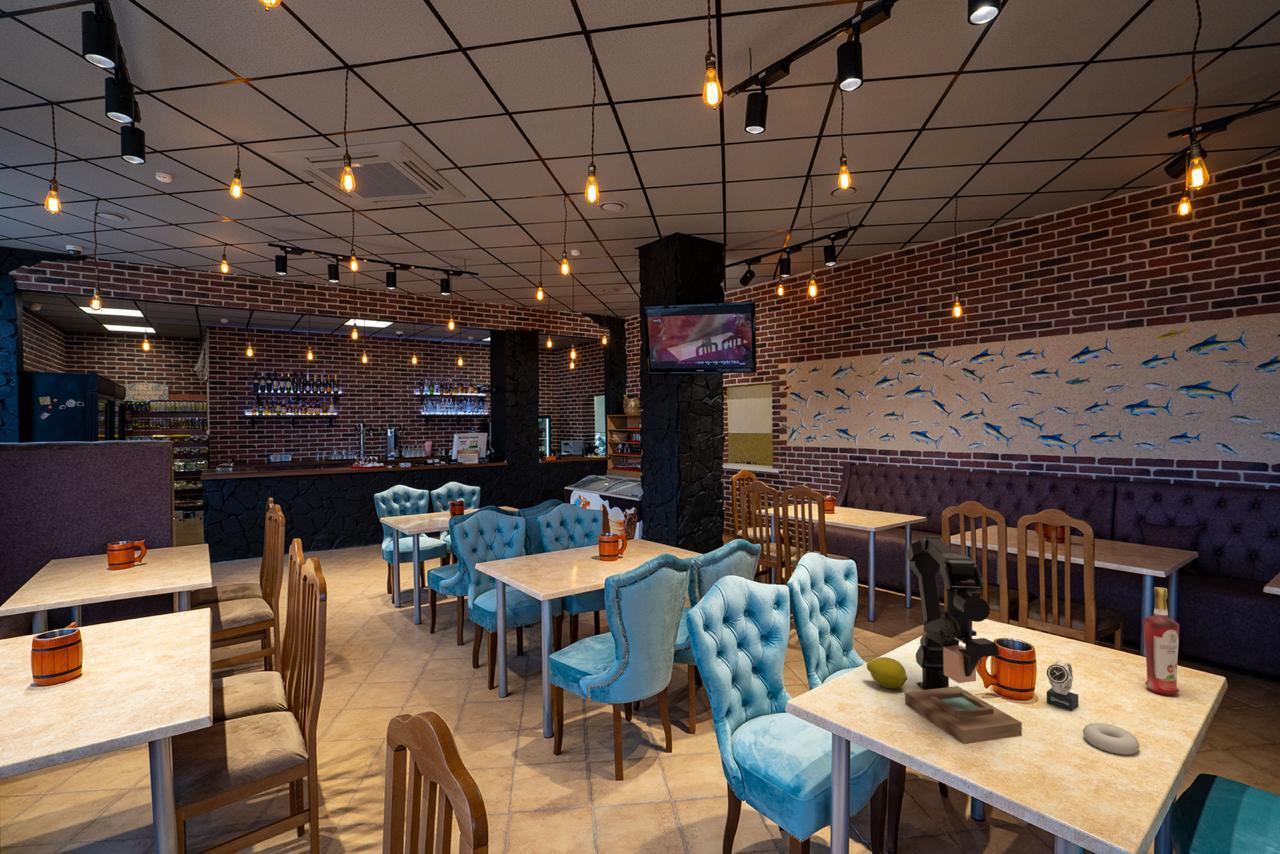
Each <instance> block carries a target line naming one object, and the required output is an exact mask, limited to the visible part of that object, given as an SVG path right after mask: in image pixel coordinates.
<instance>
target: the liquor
mask: <svg viewBox="0 0 1280 854" xmlns="http://www.w3.org/2000/svg"><path fill="white" fill-rule="evenodd" d="M1153 595H1154V607H1153V608H1154V609H1153V615H1150V616H1149V615H1148V616H1146V617H1145V618H1143V619H1142V621H1143V636H1144V647H1145V661H1146V662H1145V663H1146V681H1145V684H1144V685H1145V686H1147V687H1148V689H1149V690H1150V691H1152V692H1153V693H1155V694H1158V695H1162V696H1173V695H1175V694H1177V693H1178V692H1180V690H1179V688H1178V686H1177V684H1178V682H1177V681H1178V655H1179V646H1180V645H1179V641H1180V640H1179V639H1180V624H1179V623H1178V622H1177V621H1175V620H1174V619H1173V618H1170V617H1169V612H1168V605H1167V599H1168V589H1167V588H1165V587H1162V586H1161V587H1159V586H1158V587H1157V586H1155V587H1153Z"/></svg>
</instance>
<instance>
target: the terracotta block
mask: <svg viewBox="0 0 1280 854" xmlns="http://www.w3.org/2000/svg"><path fill="white" fill-rule="evenodd" d="M959 649H966V648H965V646H963V645H961V644H959V645H956V646H947V647H943V665H944V675H945V676H947V677H948V678H949V680H950V679H951V680H952V681H954V682H956V683H958V684H963V683H972V682H977V666H976V667H975V669H974V670H973V672H972V674H971V676H968V677H967V676H965V670H964V656H963V654H962V653H961V652H960V651H959Z"/></svg>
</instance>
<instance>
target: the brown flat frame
mask: <svg viewBox="0 0 1280 854" xmlns="http://www.w3.org/2000/svg"><path fill="white" fill-rule="evenodd" d="M904 702H905V703H904V704H905V705H906V706H907V705H908V706H907V707H909V708H910V707H911V708H910V709H912V710H913V709H914V711H915V712H916V711H917V712H916V713H918V714H919V713H920V714H919V715H920V716H922V715H923V716H922V717H924V718H925V717H926V718H927V719H926V718H925V719H926V720H928V721H929V720H930V721H929V722H931V723H932V722H933V723H932V724H933V725H935V726H937V727H938V728H939V729H941V730H943V731H944V732H945V733H946V734H949V735H950V736H951V735H952V736H951V737H952V738H954V739H956V740H957V741H958V742H960V743H961V742H962V743H961V744H963V743H966V744H971V743H972V744H973V743H979V742H985V741H992V740H999V739H1006V738H1012V737H1020V736H1023V727H1022V726H1023V725H1022V724H1023V722H1021V721H1020V720H1019V719H1017V718H1014V717H1013V716H1011V715H1010V714H1008V713H1006V712H1004V711H1002V710H1000V709H999V708H997V707H995V706H993V705H991V704H990V703H989V702H986V701H984V700H983V699H981V698H979V697H978V696H976V695H974V694H972V693H970V692H969V691H967V690H966V689H963V688H961V687H960V686H958V685H956V686H949V687H946V688H938V689H929V690H926V689H922V690H913V691H905V692H904Z"/></svg>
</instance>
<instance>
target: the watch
mask: <svg viewBox="0 0 1280 854" xmlns="http://www.w3.org/2000/svg"><path fill="white" fill-rule="evenodd" d="M1046 676H1047V679H1048V682H1049V684H1050V686H1051V688H1050V689H1048V690H1047V691H1046V704H1049V705H1051V706H1054V707H1057V708H1060V709H1063V710H1066V711H1070V712H1073V711H1075V710H1076V709H1077V708H1079V694H1077V693H1074V692H1072V691H1071V690H1072V687H1073V680H1074V675H1073V666H1072V665H1071V663H1070V662H1066V661H1062V660H1056V661H1054V662H1053V663H1052V664H1051V665H1049V666H1048V667H1047V669H1046ZM1070 691H1071V692H1070Z"/></svg>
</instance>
